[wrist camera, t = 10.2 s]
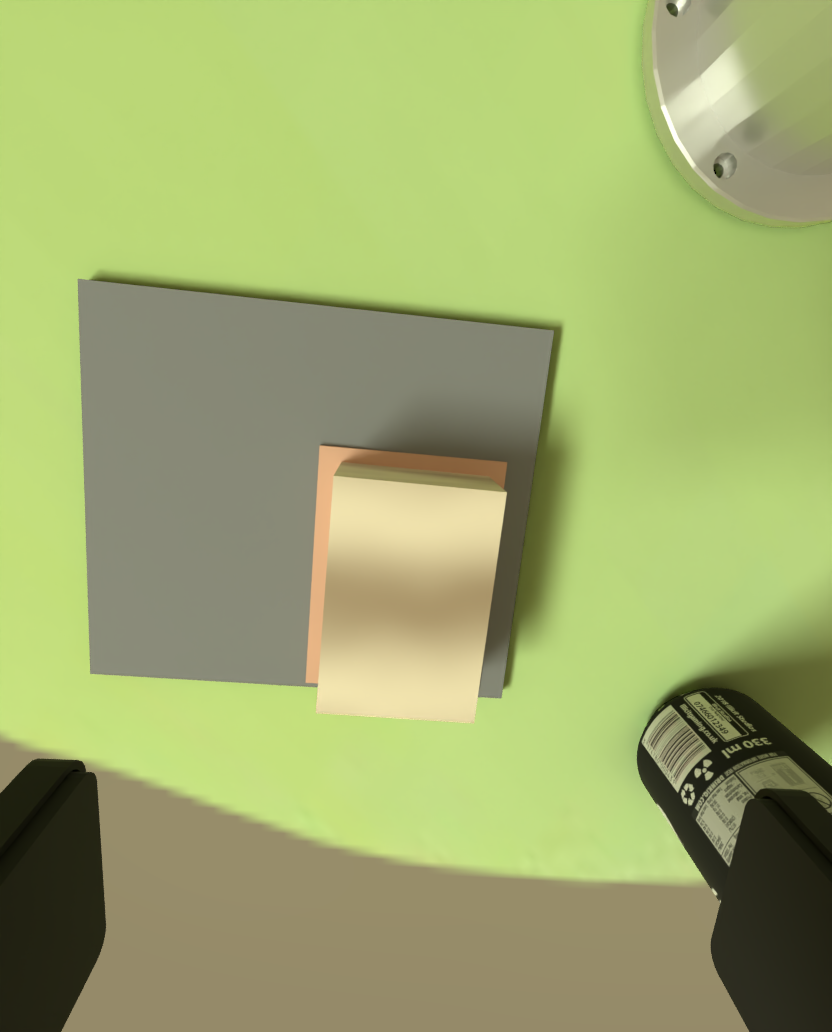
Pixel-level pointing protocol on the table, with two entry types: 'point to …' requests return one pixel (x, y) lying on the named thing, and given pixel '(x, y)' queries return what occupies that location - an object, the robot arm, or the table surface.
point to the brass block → (408, 592)
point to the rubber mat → (274, 465)
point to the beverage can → (721, 770)
